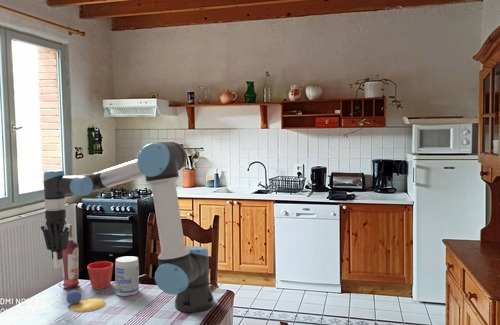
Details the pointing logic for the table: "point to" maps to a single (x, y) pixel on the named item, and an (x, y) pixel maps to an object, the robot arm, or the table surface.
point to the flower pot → (100, 274)
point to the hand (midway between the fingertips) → (57, 267)
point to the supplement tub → (127, 275)
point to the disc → (88, 305)
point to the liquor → (70, 262)
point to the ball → (73, 297)
